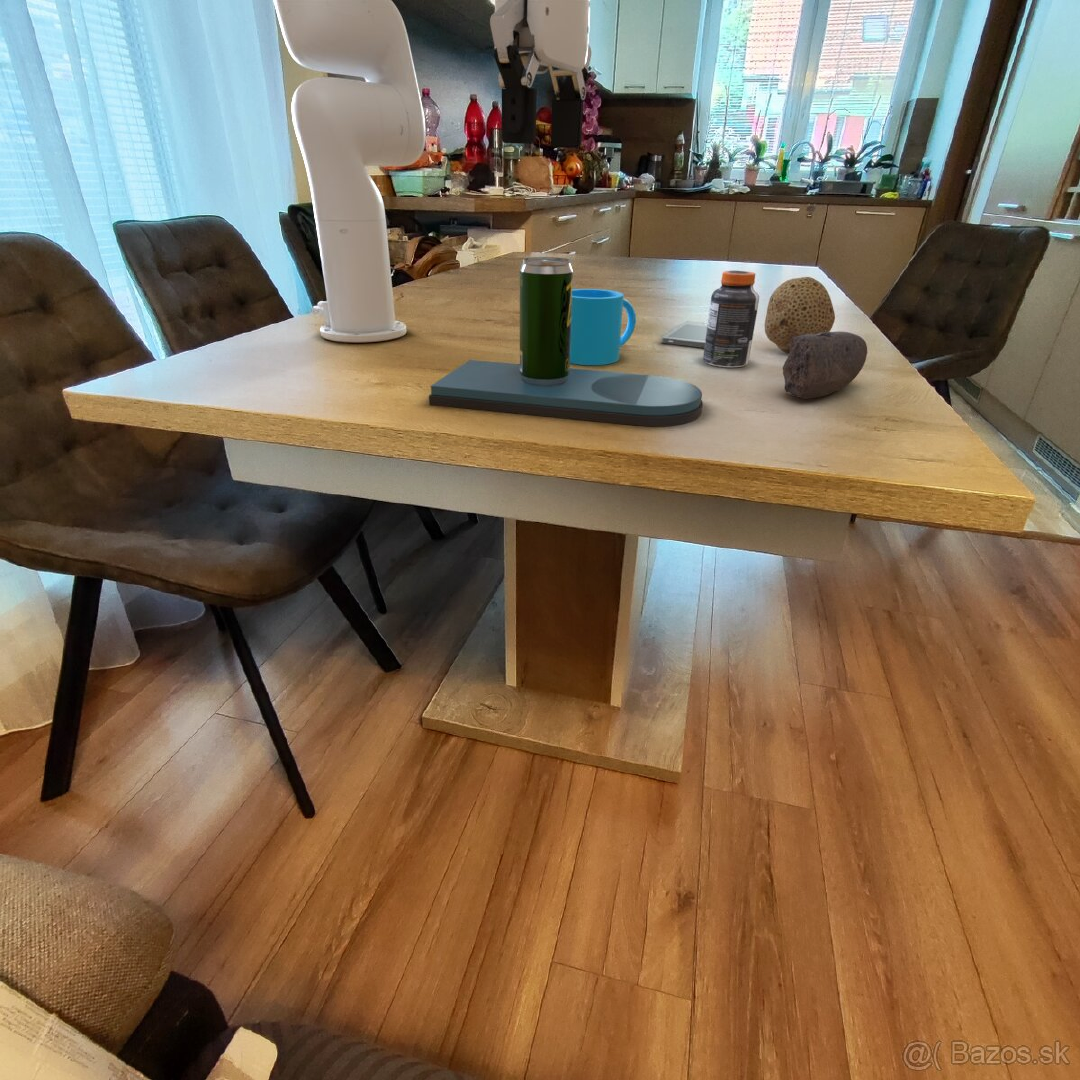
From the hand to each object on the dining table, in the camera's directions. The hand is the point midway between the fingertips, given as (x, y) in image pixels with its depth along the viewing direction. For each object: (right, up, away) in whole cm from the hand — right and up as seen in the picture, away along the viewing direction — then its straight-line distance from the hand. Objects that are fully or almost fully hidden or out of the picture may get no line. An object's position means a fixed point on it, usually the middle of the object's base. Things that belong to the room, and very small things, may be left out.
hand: (543, 145), depth 61 cm
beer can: (0, -20, +8) cm, 22 cm away
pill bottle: (+24, -14, +24) cm, 37 cm away
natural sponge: (+36, -11, +30) cm, 48 cm away
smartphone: (+24, -6, +38) cm, 45 cm away
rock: (+32, -21, +13) cm, 41 cm away
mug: (+8, -13, +27) cm, 30 cm away
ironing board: (+3, -22, +9) cm, 24 cm away
